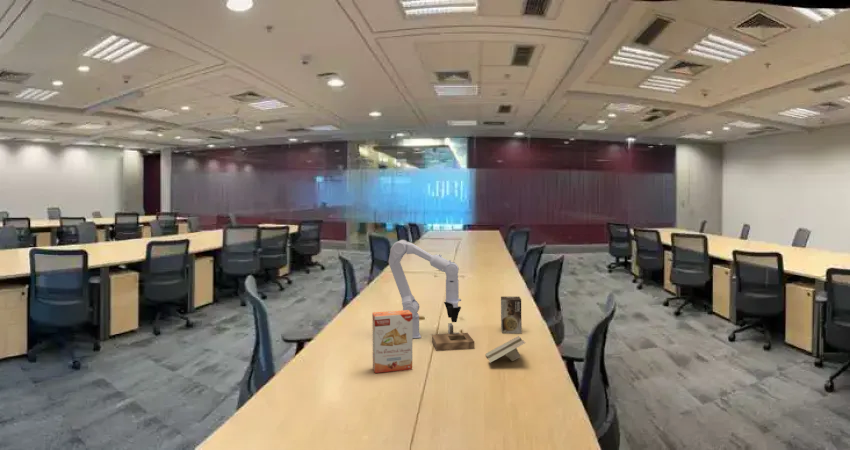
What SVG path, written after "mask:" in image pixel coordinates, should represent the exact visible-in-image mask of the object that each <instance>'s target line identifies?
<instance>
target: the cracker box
mask: <svg viewBox="0 0 850 450" xmlns="http://www.w3.org/2000/svg"><path fill="white" fill-rule="evenodd" d="M372 369H373V372H374V374H380V373H388V372H399V371H408V370H409V371H410V370H413V338H412V313H411V312H410V311H409V310H403V309H402V310H392V311H391V310H388V311H376V312H375V311H374V312H372Z"/></svg>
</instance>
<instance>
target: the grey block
mask: <svg viewBox="0 0 850 450" xmlns="http://www.w3.org/2000/svg"><path fill="white" fill-rule="evenodd" d="M447 329H448V330H447V332H448V333H447V334H455V333H456V332H454V325H453V322H451V323H447Z"/></svg>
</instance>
